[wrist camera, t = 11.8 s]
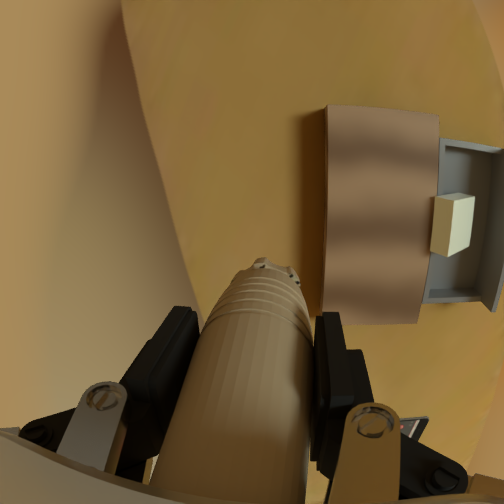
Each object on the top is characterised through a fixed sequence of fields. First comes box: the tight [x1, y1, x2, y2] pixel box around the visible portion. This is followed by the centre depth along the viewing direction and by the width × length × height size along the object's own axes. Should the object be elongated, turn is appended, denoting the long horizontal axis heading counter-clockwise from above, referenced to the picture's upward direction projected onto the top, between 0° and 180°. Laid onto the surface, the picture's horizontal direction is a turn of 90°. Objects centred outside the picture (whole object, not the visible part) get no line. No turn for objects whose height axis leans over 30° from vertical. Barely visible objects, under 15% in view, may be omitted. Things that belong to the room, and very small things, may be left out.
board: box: [320, 105, 439, 325], centre depth 28 cm, size 20×10×3 cm, turn 2°
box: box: [422, 138, 504, 312], centre depth 26 cm, size 16×8×5 cm, turn 2°
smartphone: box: [399, 416, 429, 441], centre depth 39 cm, size 7×1×15 cm
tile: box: [430, 193, 475, 257], centre depth 26 cm, size 5×5×2 cm
